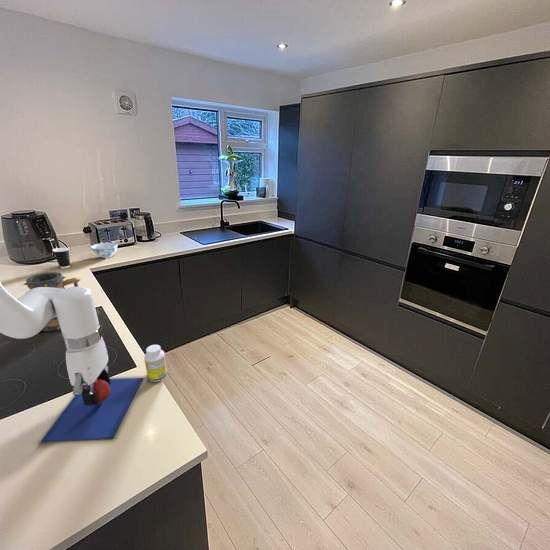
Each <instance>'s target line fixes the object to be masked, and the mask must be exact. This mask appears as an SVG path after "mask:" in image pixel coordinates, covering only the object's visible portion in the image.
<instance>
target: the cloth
mask: <svg viewBox="0 0 550 550" xmlns="http://www.w3.org/2000/svg"><path fill="white" fill-rule="evenodd" d="M143 380H144V378H143V377H134V378H133V377H132V378H130V377H129V378H110V382H111V384H110V385H109V386H110V394H109V396H108V397H107V398H106V399H105V400H104V401H103V402H102V403H100V404H97V405H84V401H83V398H82V395H74V397H73V398H72V399H71V400H70V401H69V403H68V404H67V406H66V407H65V409H64V410H63V411H62V412H61V414H60V415H59V417H58V418H57V419H56V421H55V422H54V423H53V424H52V426H51V427H50V428H49V430H48V431H47V432H46V434H45V435H44V437H43V438H42V439H41V443H42V442H43V443H47V442H64V441H68V442H69V441H86V440H88V441H89V440H106V439H109V440H110V439H114V438H115V436H116V434H117V432H118V430H119V428H120V426H121V424H122V422H123V421H124V418H125V416H126V414H127V412H128V410H129V408H130V406H131V403H132V402H133V400H134V398H135V396H136V394H137V392H138V390H139V388H140V386H141V384H142V382H143ZM87 386H88V385H84V389H86V387H87Z"/></svg>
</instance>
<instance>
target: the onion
mask: <svg viewBox="0 0 550 550" xmlns="http://www.w3.org/2000/svg"><path fill="white" fill-rule="evenodd" d="M86 389H88V390H89V385H88V386H87V387H86ZM94 391H96V394H97V398H98V402H99V403H98V404H100V403H102V402H103V401H104V400H105V399H106V398H107V397H108V396H109V394H110V386H109V384H108V382H106V381H105V380H102V379H96V380H95V381H94Z"/></svg>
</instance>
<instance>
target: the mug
mask: <svg viewBox="0 0 550 550" xmlns="http://www.w3.org/2000/svg"><path fill="white" fill-rule="evenodd" d="M66 278H67V276H64V275H63V274H62V273H61V272H56V271H53V272H52V271H51V272H43V273H38V274H37V273H36V274H34V275H31V276H29V277H27V279H26V280H25V283H23V284H22V285H23V286H27V288H28V289H29V290H31V289H33V288H37V287H51V288H64V289H66V286H68V285H72V284H73V287H79V282H80V281H81V280H82V279H81V278H79V277H72V278H67V279H66ZM64 279H65V280H64ZM41 331H43V332H55V331H61V328H60V325H59V321H58V318H57V317H55V318H53V319H51V320H50V321H49V322H48V323H47V325H46V326H45V327H44V328H43V329H42V330H41Z"/></svg>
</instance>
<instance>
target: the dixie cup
mask: <svg viewBox="0 0 550 550" xmlns="http://www.w3.org/2000/svg"><path fill="white" fill-rule="evenodd" d="M52 253H53V255H54V257H55V259H56V262H57V264H58V266H59V268H60V269H67V268H71V259H70V248H69V247H58V248H53V249H52Z"/></svg>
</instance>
